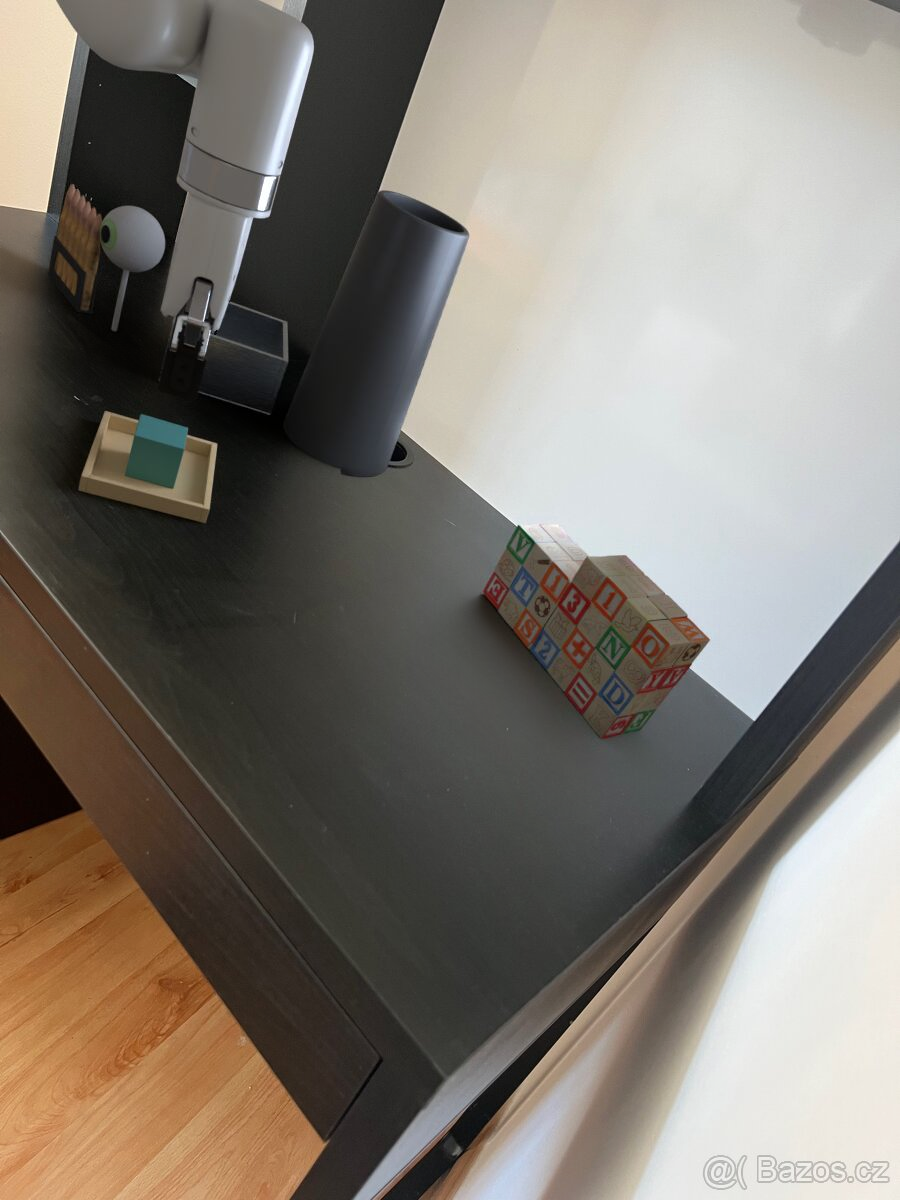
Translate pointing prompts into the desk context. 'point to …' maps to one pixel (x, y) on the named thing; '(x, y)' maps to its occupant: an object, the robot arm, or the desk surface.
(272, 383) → the dark open-top crate
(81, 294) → the ammunition clip
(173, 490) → the shallow wooden tray
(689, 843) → the desk surface
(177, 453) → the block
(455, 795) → the desk surface
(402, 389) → the vase
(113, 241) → the lollipop
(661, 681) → the stack of blocks
